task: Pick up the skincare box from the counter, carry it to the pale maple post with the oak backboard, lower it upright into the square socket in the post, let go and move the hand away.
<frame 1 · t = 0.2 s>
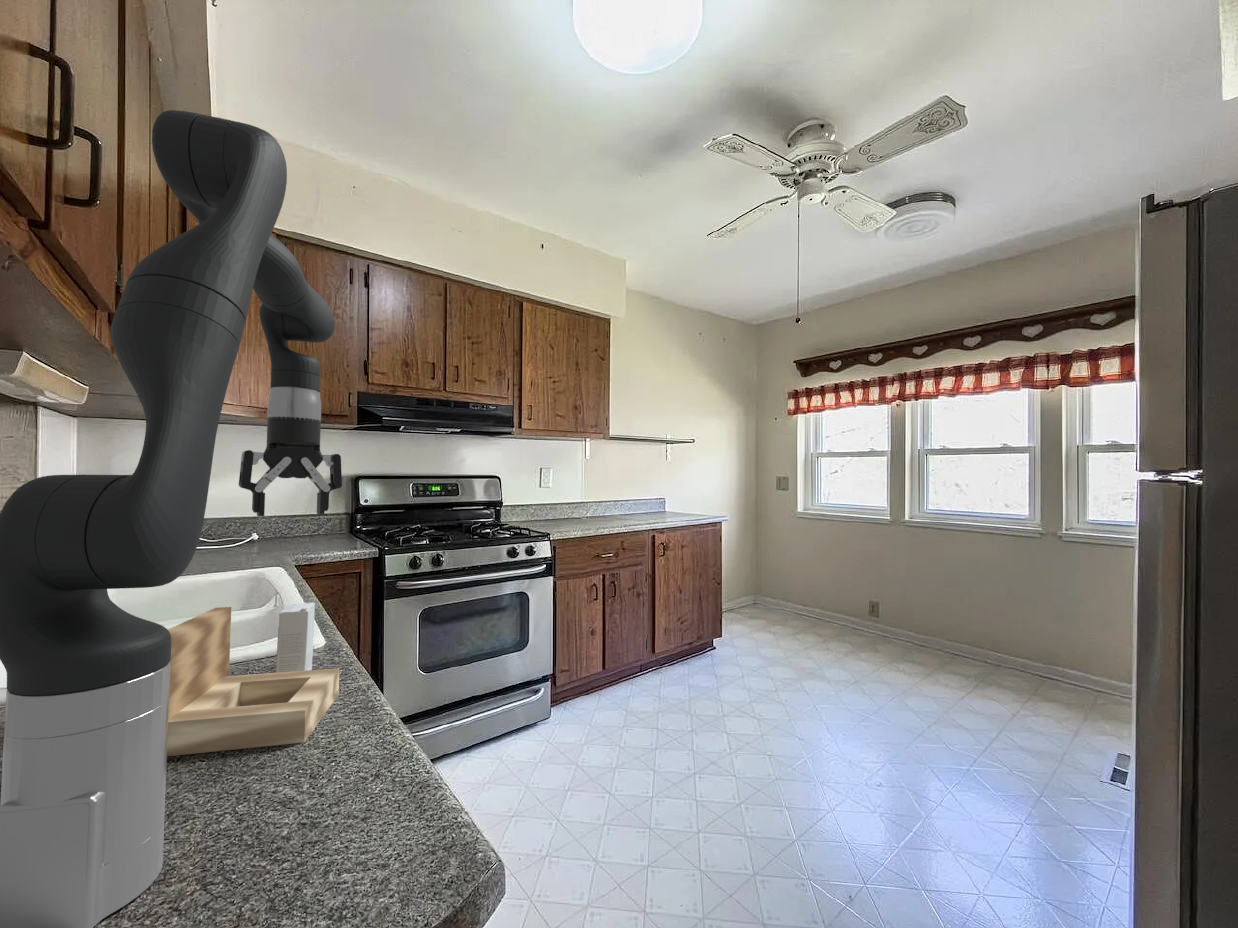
hand: (291, 515, 85), 27 cm above the countertop, tool pointing down, fingers open, 8 cm apart
socket post: (262, 721, 70), on the countertop
skincare box: (294, 682, 84), on the countertop
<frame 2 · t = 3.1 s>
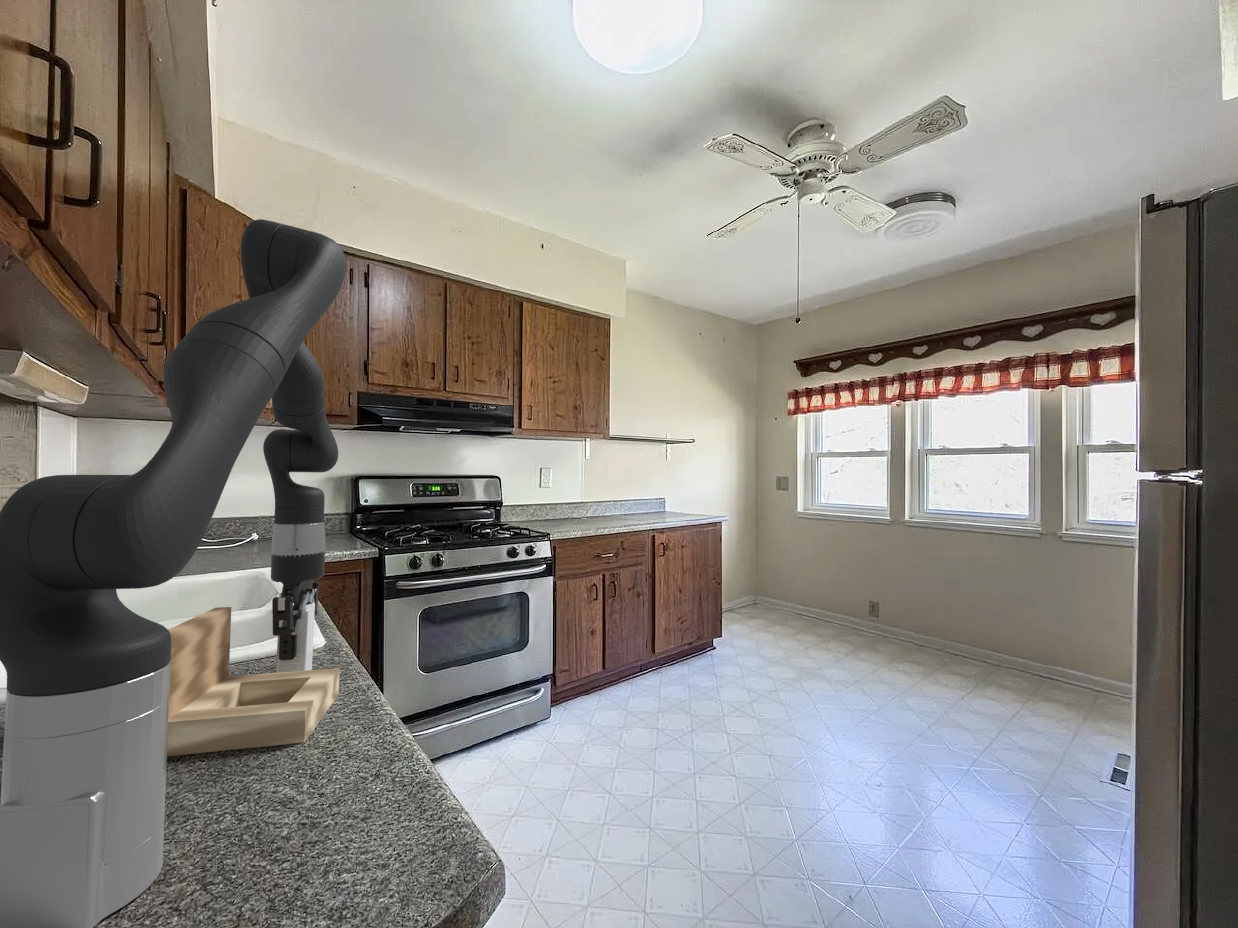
hand: (295, 651, 85), 5 cm above the countertop, tool pointing down, fingers closed on skincare box, 6 cm apart
skincare box: (294, 682, 84), on the countertop, touching gripper
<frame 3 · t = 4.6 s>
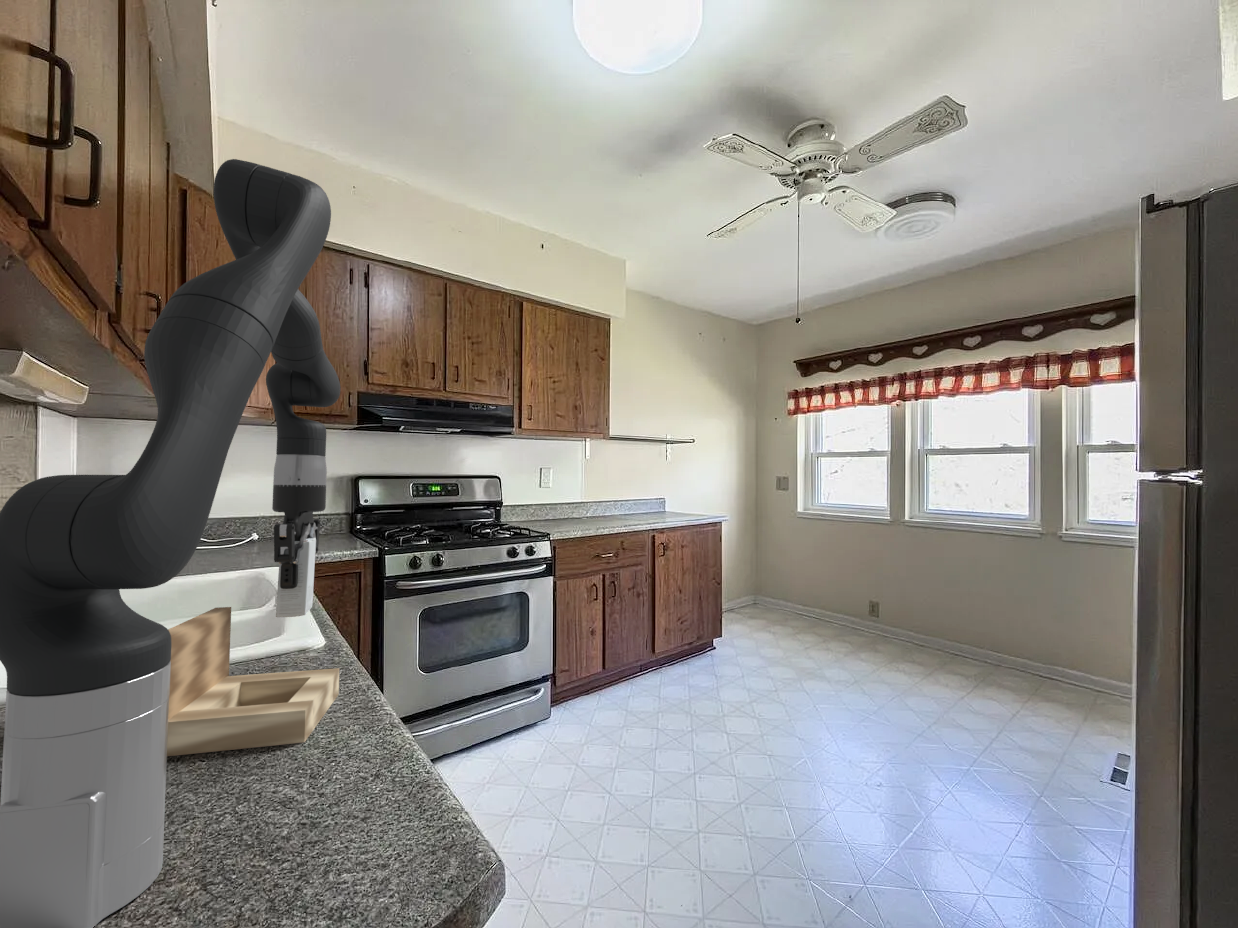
hand: (296, 584, 85), 16 cm above the countertop, tool pointing down, fingers closed on skincare box, 6 cm apart
skincare box: (295, 614, 85), point 11 cm above the countertop, touching gripper
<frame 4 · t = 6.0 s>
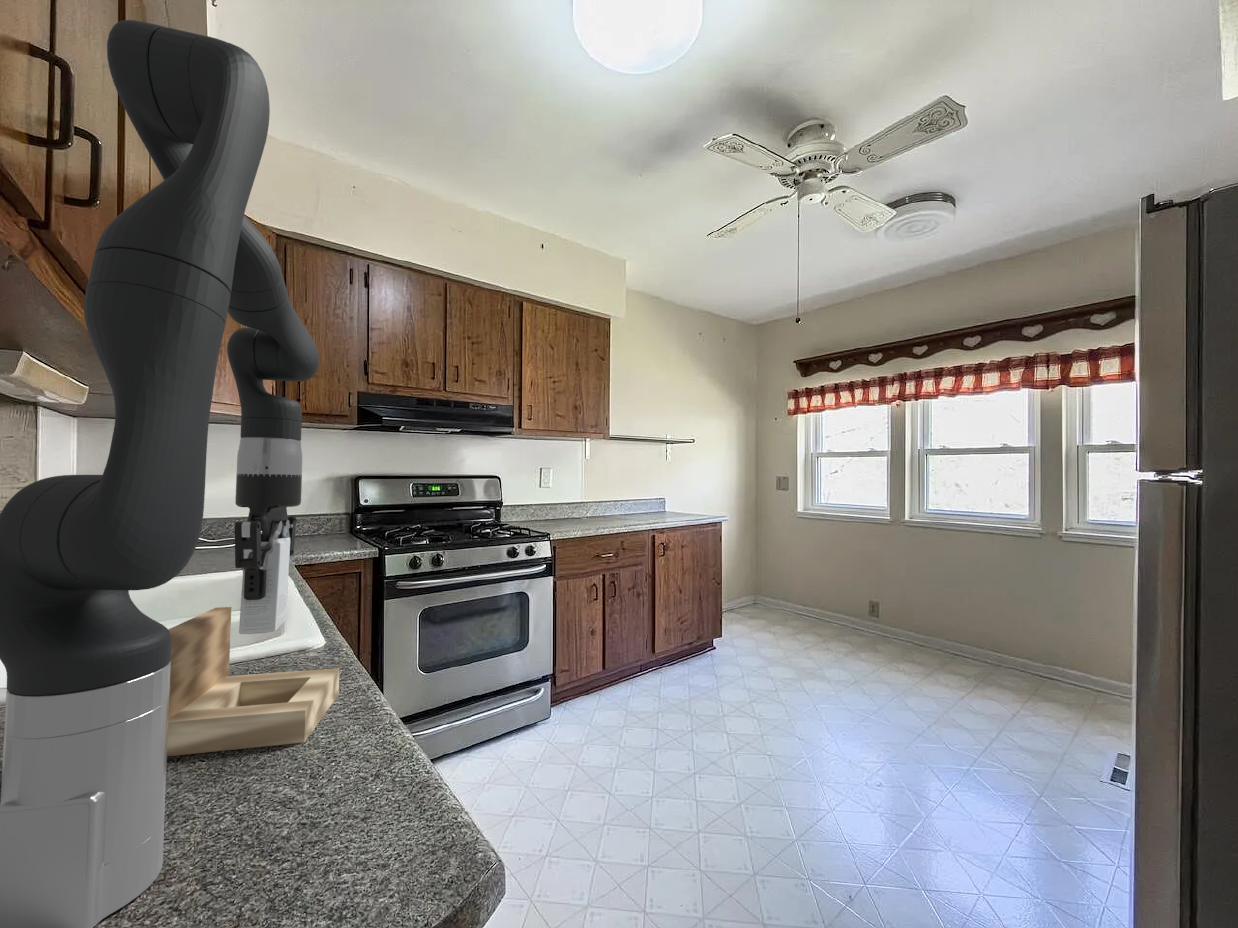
hand: (265, 593, 71), 17 cm above the countertop, tool pointing down, fingers closed on skincare box, 6 cm apart
skincare box: (264, 629, 70), point 12 cm above the countertop, touching gripper
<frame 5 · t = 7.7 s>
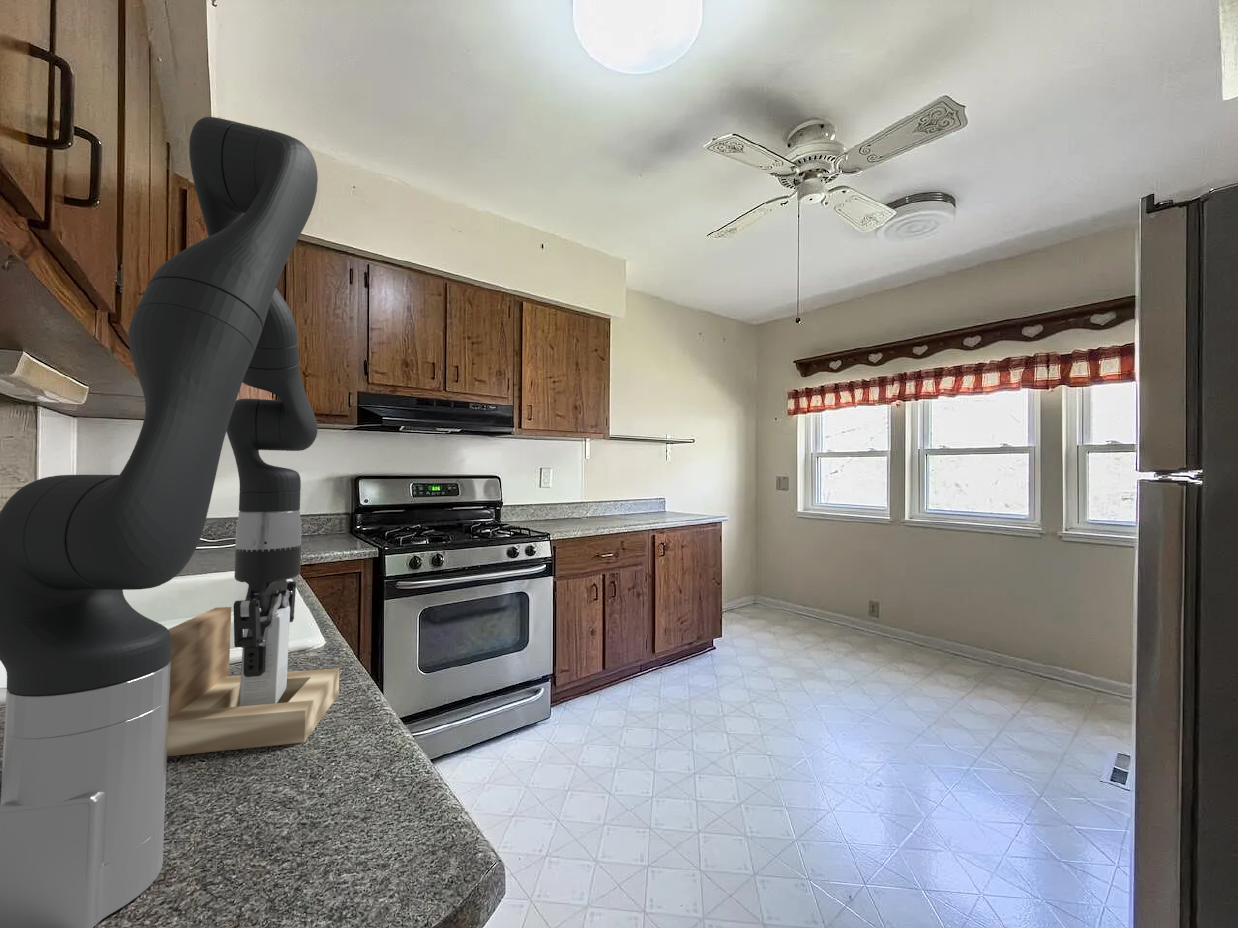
hand: (265, 665, 70), 7 cm above the countertop, tool pointing down, fingers closed on skincare box, 6 cm apart
skincare box: (264, 701, 70), point 3 cm above the countertop, touching gripper
when the fingers open (6 cm above the countertop, at t = 9.3 s): skincare box drops 1 cm, resting in socket post.
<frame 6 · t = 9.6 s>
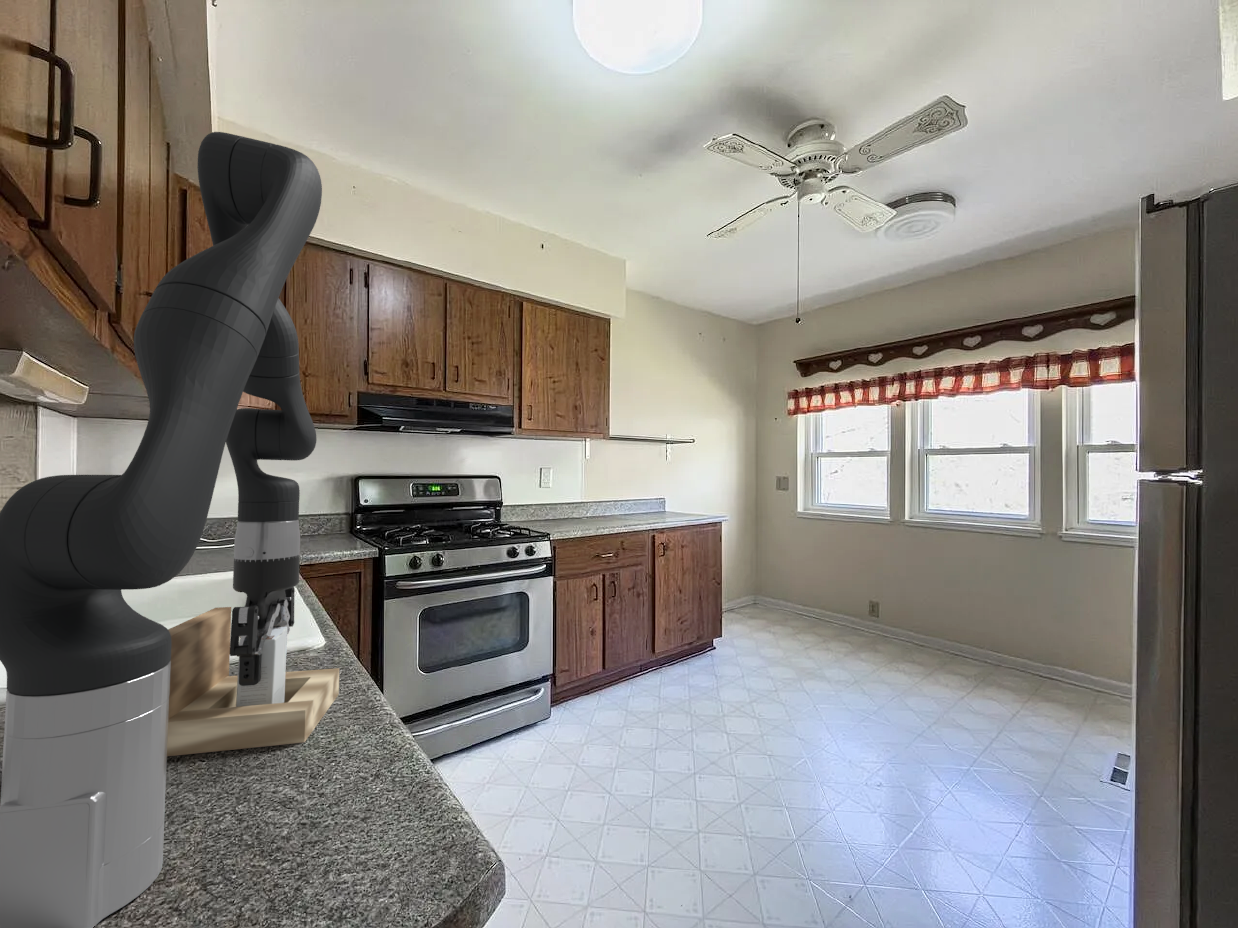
hand: (263, 672, 70), 7 cm above the countertop, tool pointing down, fingers open, 8 cm apart
skincare box: (261, 724, 70), resting in socket post
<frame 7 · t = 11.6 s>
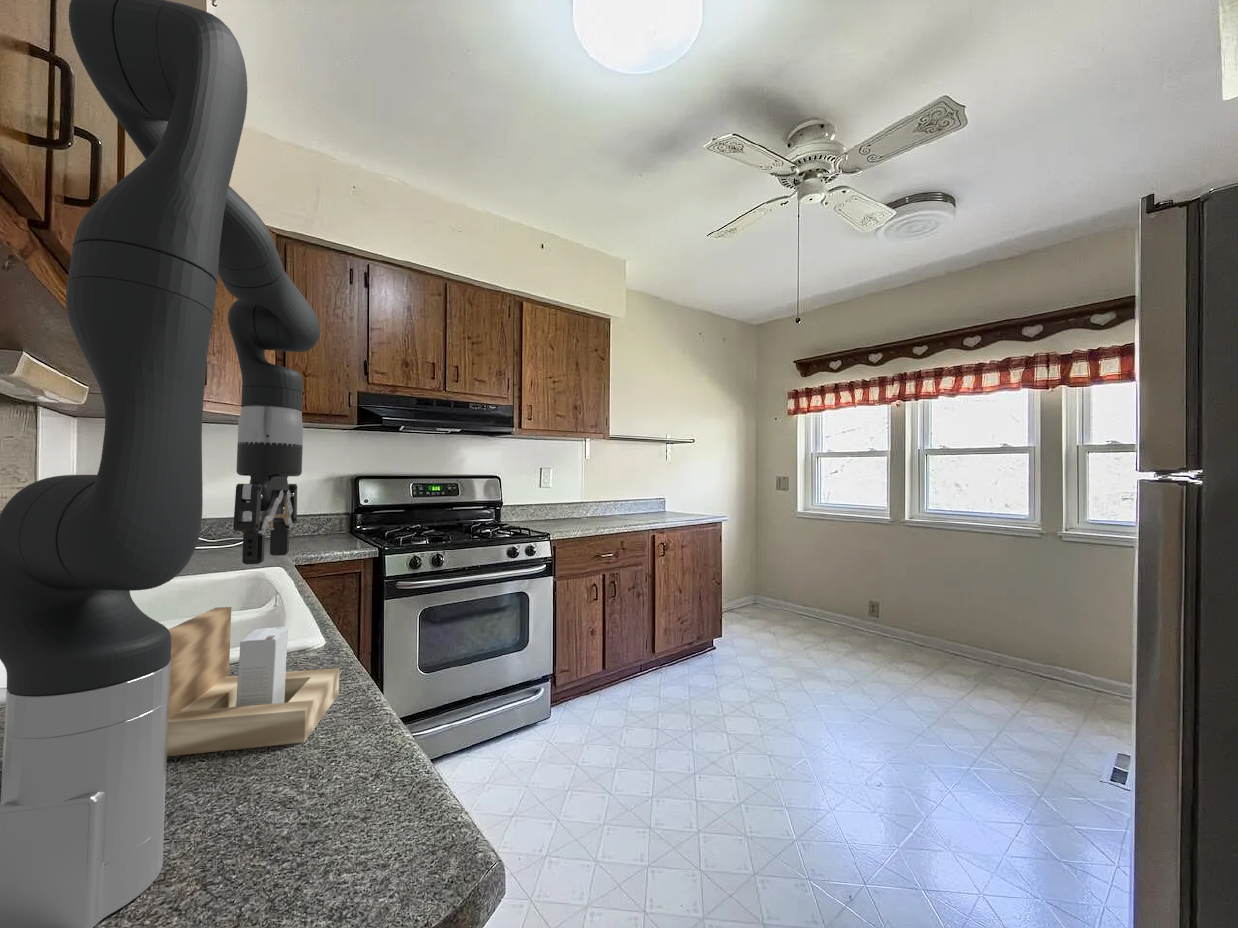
hand: (266, 559, 71), 22 cm above the countertop, tool pointing down, fingers open, 8 cm apart
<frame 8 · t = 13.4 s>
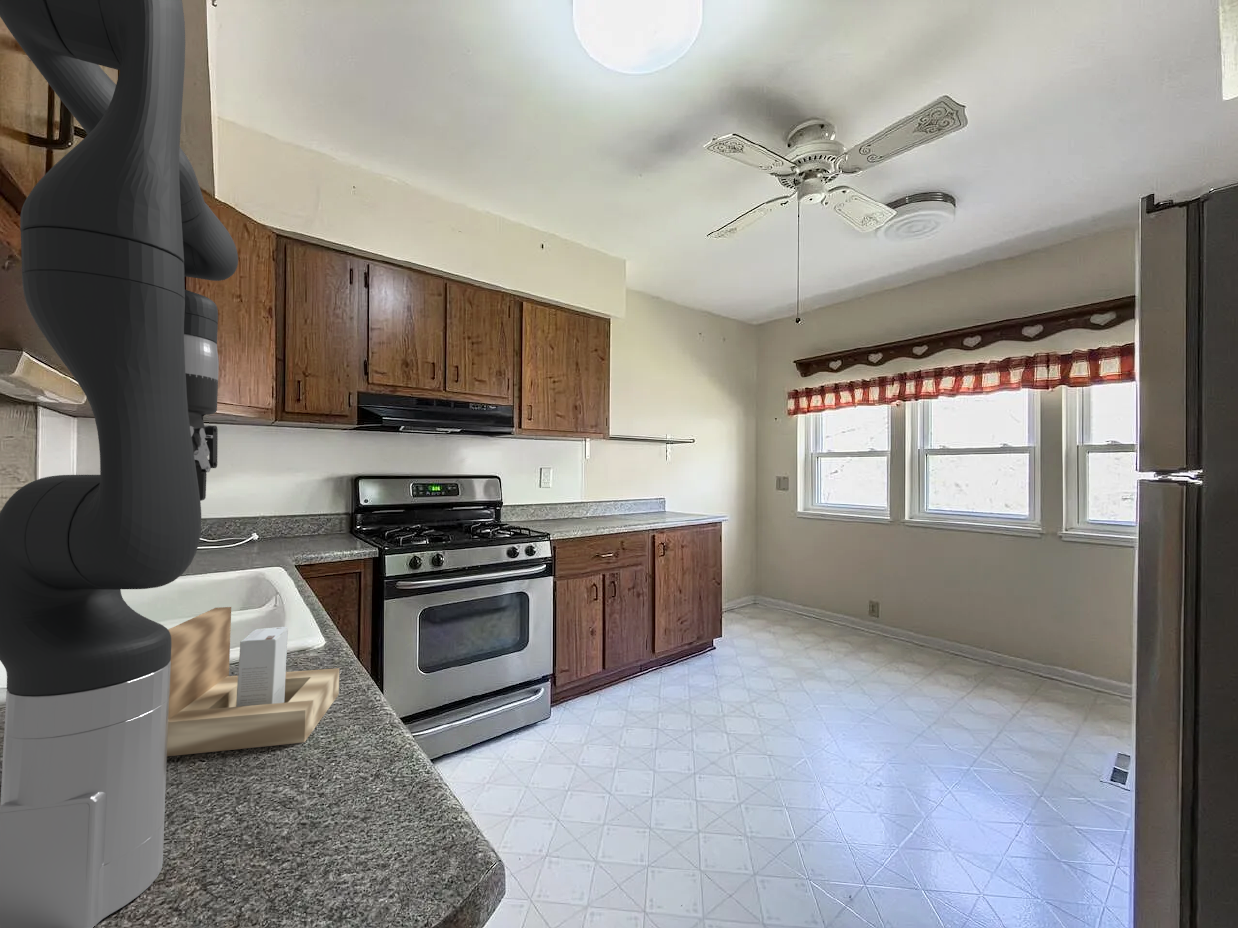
hand: (176, 501, 65), 30 cm above the countertop, tool pointing down, fingers open, 8 cm apart
at the end: skincare box 0.4 cm off-centre on the socket post, point 0.0 cm above the socket post's base; skincare box tilted 0°; the gripper is holding nothing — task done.
